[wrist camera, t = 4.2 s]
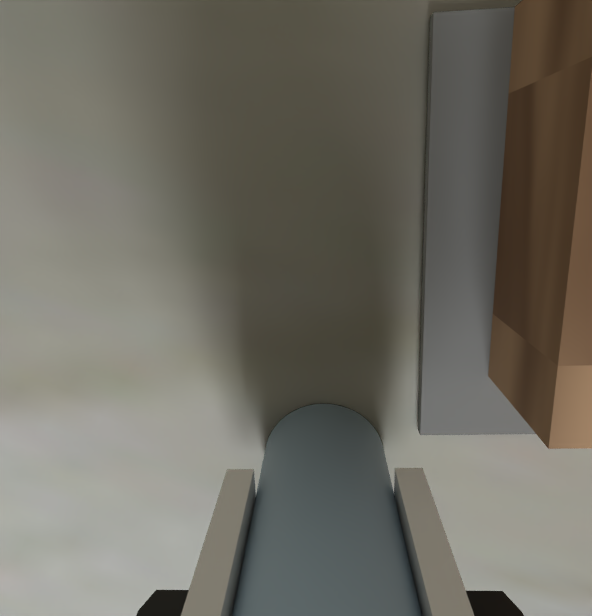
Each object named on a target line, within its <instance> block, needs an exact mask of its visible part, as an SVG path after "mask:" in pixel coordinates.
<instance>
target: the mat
mask: <svg viewBox="0 0 592 616" xmlns="http://www.w3.org/2000/svg"><path fill="white" fill-rule="evenodd" d="M514 12H515V7H508V8H493V9H477V10H461V11H445V12H434V13H433V14H432V16H431V17H430V42H429V75H428V108H427V141H426V174H425V208H424V241H423V274H422V307H421V340H420V373H419V407H418V430H419V433H420V435H476V434H536V433H535V432H534V431H533V429H532V428H531V427H530V426H529V425H528V423H527V422H526V421H525V420H524V419H523V417H522V416H521V415H520V414H519V413H518V411H517V410H516V409H515V408H514V407H513V405H512V404H511V403H510V402H509V401H508V399H507V398H506V397H505V396H504V395H503V393H502V392H501V391H500V390H499V389H498V387H497V386H496V385H495V384H494V383H493V381H492V380H491V379H490V378H489V377H488V373H489V359H490V345H491V331H492V317H493V303H494V289H495V275H496V262H497V248H498V234H499V220H500V206H501V192H502V178H503V164H504V151H505V137H506V123H507V109H508V95H509V81H510V67H511V53H512V40H513V26H514Z"/></svg>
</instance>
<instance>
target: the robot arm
mask: <svg viewBox="0 0 592 616" xmlns="http://www.w3.org/2000/svg"><path fill="white" fill-rule="evenodd" d="M394 497H395V501H396V505H397V510H398V514H399V518H400V522H401V527H402V531H403V535H404V540H405V544H406V548H407V553H408V557H409V561H410V565H411V570H412V574H413V578H414V583H415V587H416V591H417V595H418V600H419V604H420V608H421V613H422V616H524V615H523V613H522V612H521V611H520V610H519V609H518V607H517V606H516V605H515V604H514V603H513V602H512V601H511V600H510V599H509V598H508V597H507V595H506V594H505V593H504V592H503V591H466V590H465V588H464V585H463V582H462V579H461V576H460V573H459V571H458V568H457V565H456V562H455V559H454V556H453V553H452V551H451V548H450V545H449V542H448V539H447V536H446V534H445V531H444V528H443V525H442V522H441V519H440V516H439V514H438V511H437V508H436V505H435V502H434V499H433V497H432V494H431V491H430V488H429V485H428V482H427V479H426V477H425V474H424V471H423V468H395V486H394ZM255 499H256V493H255V480H254V469H227V471H226V475H225V478H224V481H223V484H222V487H221V490H220V494H219V497H218V500H217V503H216V506H215V509H214V512H213V516H212V519H211V522H210V525H209V528H208V531H207V535H206V538H205V541H204V544H203V547H202V550H201V553H200V557H199V560H198V563H197V566H196V569H195V572H194V576H193V579H192V582H191V585H190V588H189V590H156V591H155V592H154V593H153V594H152V595H151V597H150V598H149V599H148V600H147V601H146V602H145V604H144V605H143V606H142V607H141V608H140V609H139V611H138V613H137V616H232V613H233V608H234V603H235V598H236V594H237V589H238V584H239V579H240V574H241V569H242V564H243V559H244V554H245V549H246V544H247V539H248V534H249V529H250V524H251V519H252V514H253V509H254V504H255Z"/></svg>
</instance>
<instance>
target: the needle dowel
mask: <svg viewBox="0 0 592 616" xmlns="http://www.w3.org/2000/svg"><path fill="white" fill-rule="evenodd" d="M232 616H422V613H421V608H420V604H419V600H418V595H417V591H416V587H415V583H414V578H413V574H412V570H411V565H410V561H409V557H408V553H407V548H406V544H405V540H404V535H403V531H402V527H401V522H400V518H399V514H398V510H397V505H396V501H395V497H394V492H393V488H392V484H391V479H390V475H389V471H388V467H387V462H386V458H385V454H384V449H383V445H382V442H381V439H380V437H379V435H378V433H377V431H376V430H375V428H374V427H373V426H372V425H371V424H370V423H369V422H368V421H367V420H366V419H365V418H364V417H363V416H361V415H360V414H358V413H357V412H355V411H353V410H351V409H348V408H346V407H342V406H339V405H333V404H314V405H309V406H305V407H302V408H299V409H297V410H295V411H293V412H291V413H290V414H288V415H286V416H285V417H284V418H283V419H282V420H280V421H279V423H278V424H277V425H276V426H275V427H274V429H273V430H272V432H271V434H270V436H269V438H268V441H267V444H266V449H265V454H264V459H263V464H262V469H261V474H260V479H259V484H258V489H257V494H256V499H255V504H254V509H253V514H252V519H251V524H250V529H249V534H248V539H247V544H246V549H245V554H244V559H243V564H242V569H241V574H240V579H239V584H238V589H237V594H236V598H235V603H234V608H233V613H232Z"/></svg>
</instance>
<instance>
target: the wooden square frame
mask: <svg viewBox="0 0 592 616" xmlns="http://www.w3.org/2000/svg"><path fill="white" fill-rule="evenodd" d="M488 377H489V378H490V379H491V380H492V381H493V383H494V384H495V385H496V386H497V387H498V389H499V390H500V391H501V392H502V393H503V395H504V396H505V397H506V398H507V399H508V401H509V402H510V403H511V404H512V405H513V407H514V408H515V409H516V410H517V411H518V413H519V414H520V415H521V416H522V417H523V419H524V420H525V421H526V422H527V423H528V425H529V426H530V427H531V428H532V429H533V431H534V432H535V433H536V434H537V435H538V437H539V438H540V439H541V440H542V441H543V443H544V444H545V445H546V446H547V447H548V449H556V448H592V0H522V1H521V2H520V3H519V4H518V5H517V6H516V7H515V12H514V26H513V40H512V53H511V67H510V81H509V95H508V109H507V123H506V137H505V151H504V164H503V178H502V192H501V206H500V220H499V234H498V248H497V262H496V275H495V289H494V303H493V317H492V331H491V345H490V359H489V373H488Z"/></svg>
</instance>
